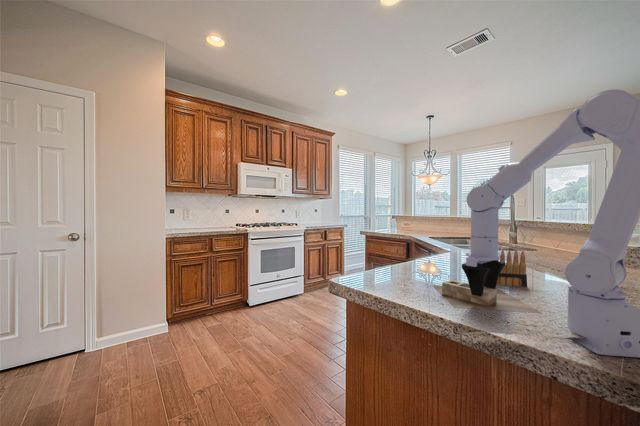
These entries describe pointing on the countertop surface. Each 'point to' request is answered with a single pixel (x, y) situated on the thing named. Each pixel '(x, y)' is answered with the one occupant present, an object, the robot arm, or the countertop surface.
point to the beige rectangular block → (469, 293)
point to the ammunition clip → (513, 270)
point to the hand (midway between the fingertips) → (483, 292)
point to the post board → (502, 304)
